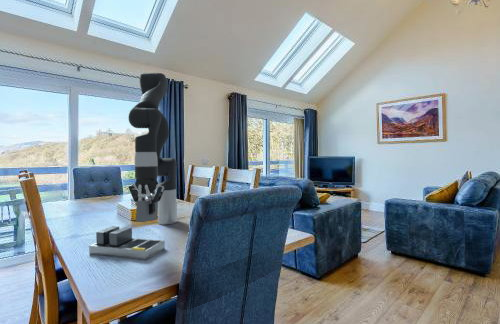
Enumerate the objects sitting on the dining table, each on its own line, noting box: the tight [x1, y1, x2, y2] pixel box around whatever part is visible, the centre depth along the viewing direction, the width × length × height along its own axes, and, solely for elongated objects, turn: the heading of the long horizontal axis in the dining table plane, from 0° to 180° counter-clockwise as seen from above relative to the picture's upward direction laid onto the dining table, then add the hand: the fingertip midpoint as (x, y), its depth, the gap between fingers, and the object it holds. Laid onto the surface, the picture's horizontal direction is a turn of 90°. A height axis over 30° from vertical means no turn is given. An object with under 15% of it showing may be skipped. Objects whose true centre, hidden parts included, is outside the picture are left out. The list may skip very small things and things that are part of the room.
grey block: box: [135, 199, 158, 223], centre depth 97 cm, size 8×3×7 cm, turn 165°
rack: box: [88, 225, 166, 261], centre depth 99 cm, size 23×11×8 cm, turn 75°
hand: (147, 213), depth 97 cm, fingers closed on grey block, 3 cm apart
